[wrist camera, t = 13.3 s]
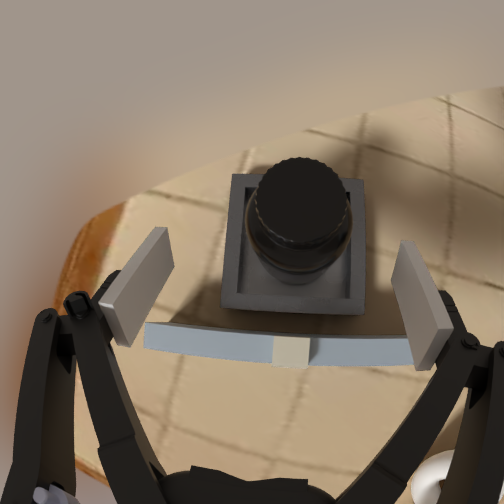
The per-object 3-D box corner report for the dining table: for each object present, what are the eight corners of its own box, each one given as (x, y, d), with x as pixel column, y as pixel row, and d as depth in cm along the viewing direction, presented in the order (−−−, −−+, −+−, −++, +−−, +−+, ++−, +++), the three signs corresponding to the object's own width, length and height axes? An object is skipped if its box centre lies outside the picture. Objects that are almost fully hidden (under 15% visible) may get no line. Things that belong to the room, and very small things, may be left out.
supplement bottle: (251, 216, 28) (227, 148, 16) (326, 204, 28) (349, 131, 16) (263, 292, 27) (244, 273, 15) (341, 279, 26) (381, 250, 14)
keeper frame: (357, 190, 28) (363, 179, 26) (357, 315, 26) (364, 314, 23) (236, 185, 29) (232, 173, 27) (225, 308, 27) (219, 307, 25)
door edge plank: (410, 334, 25) (441, 337, 19) (408, 357, 24) (438, 366, 18) (168, 321, 27) (138, 321, 21) (166, 344, 27) (136, 349, 21)
